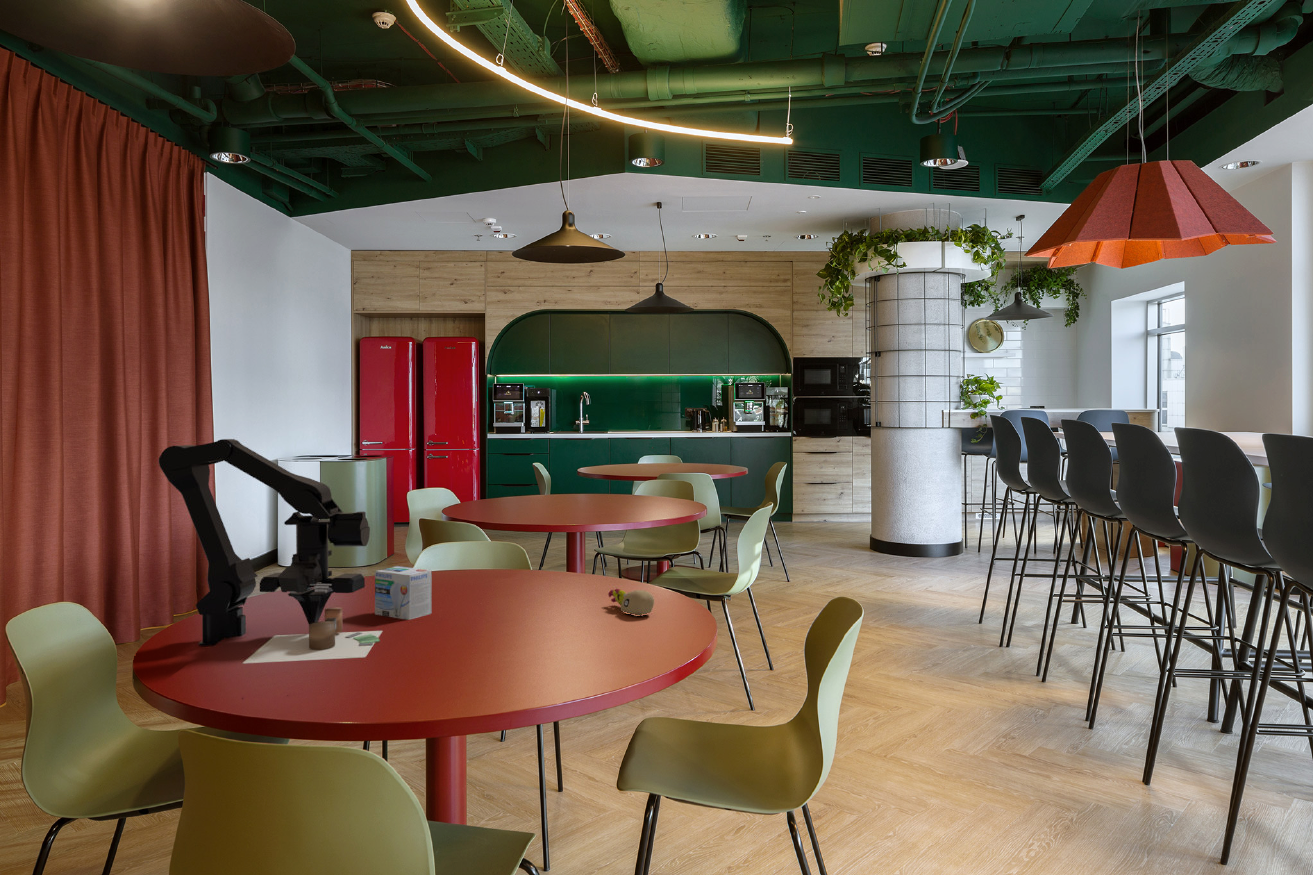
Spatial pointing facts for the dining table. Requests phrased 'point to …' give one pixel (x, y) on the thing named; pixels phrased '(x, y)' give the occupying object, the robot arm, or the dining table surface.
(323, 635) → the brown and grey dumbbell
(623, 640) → the dining table surface
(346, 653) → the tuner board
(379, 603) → the light bulb box
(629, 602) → the toy
